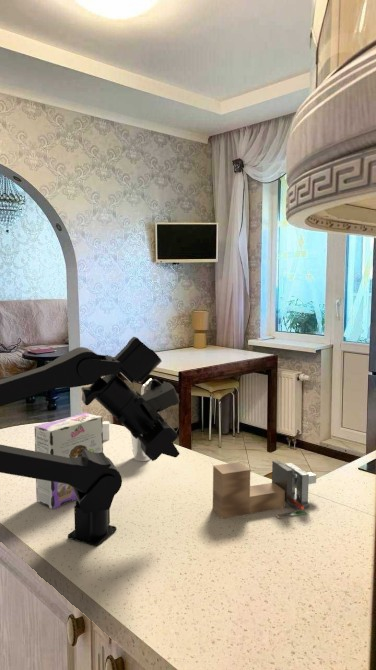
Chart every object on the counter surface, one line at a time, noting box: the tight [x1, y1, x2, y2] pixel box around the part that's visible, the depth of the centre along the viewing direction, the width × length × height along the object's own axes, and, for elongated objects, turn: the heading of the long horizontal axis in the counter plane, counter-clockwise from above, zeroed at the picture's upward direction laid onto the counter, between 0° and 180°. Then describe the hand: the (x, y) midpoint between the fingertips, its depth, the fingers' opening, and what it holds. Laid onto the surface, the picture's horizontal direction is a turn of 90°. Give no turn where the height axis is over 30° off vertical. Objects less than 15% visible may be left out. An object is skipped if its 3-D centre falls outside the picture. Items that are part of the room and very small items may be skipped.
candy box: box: [34, 412, 104, 510], centre depth 107 cm, size 14×6×16 cm, turn 141°
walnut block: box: [212, 461, 286, 519], centre depth 102 cm, size 14×4×9 cm, turn 110°
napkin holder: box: [102, 420, 111, 441], centre depth 144 cm, size 15×11×6 cm
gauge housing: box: [275, 462, 310, 520], centre depth 103 cm, size 8×10×7 cm
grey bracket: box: [271, 459, 317, 511], centre depth 104 cm, size 8×10×7 cm
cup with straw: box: [130, 378, 153, 462], centre depth 129 cm, size 8×9×20 cm
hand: (177, 455), depth 96 cm, fingers closed
